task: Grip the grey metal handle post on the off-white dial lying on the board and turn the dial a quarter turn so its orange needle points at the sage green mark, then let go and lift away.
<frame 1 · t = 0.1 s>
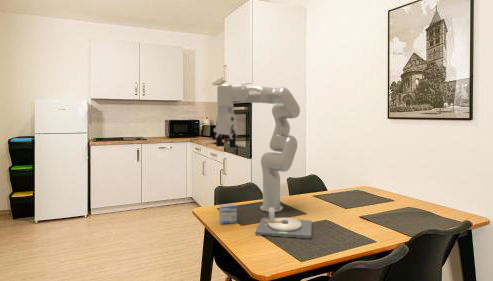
hand: (225, 146, 154), 37 cm above the table, tool pointing down, fingers open, 9 cm apart
dial: (282, 216, 148), point 6 cm above the table, hinge at 0.0°
dial board: (284, 229, 148), on the table
medicine box: (227, 223, 158), on the table
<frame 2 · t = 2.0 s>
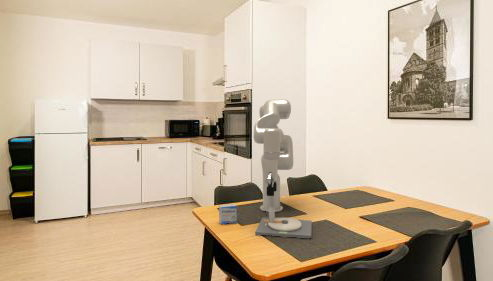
hand: (271, 193, 147), 17 cm above the table, tool pointing down, fingers open, 9 cm apart
nothing on the table moved.
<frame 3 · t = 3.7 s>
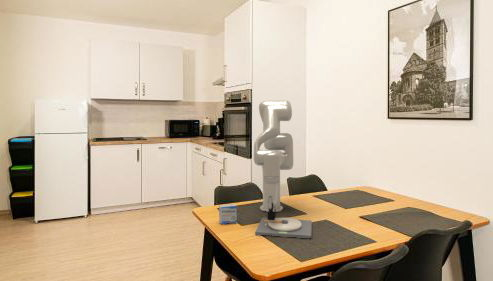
hand: (271, 218, 149), 5 cm above the table, tool pointing down, fingers closed on dial, 2 cm apart
dial: (282, 216, 148), point 6 cm above the table, hinge at 0.0°, touching gripper
everything else where it was.
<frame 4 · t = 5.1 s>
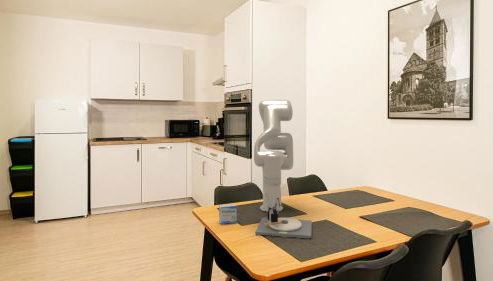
hand: (272, 220, 146), 5 cm above the table, tool pointing down, fingers closed on dial, 2 cm apart
dial: (282, 217, 147), point 6 cm above the table, hinge at 27.1°, touching gripper
everything else where it was.
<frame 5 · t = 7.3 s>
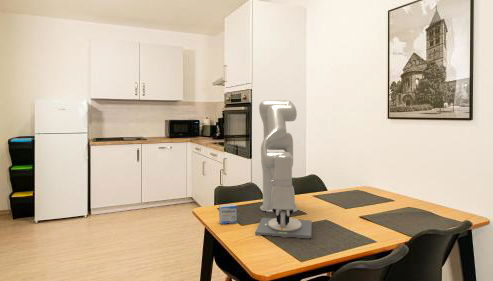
hand: (282, 223, 142), 5 cm above the table, tool pointing down, fingers closed on dial, 2 cm apart
dial: (284, 217, 147), point 6 cm above the table, hinge at 87.0°, touching gripper
everything else where it was.
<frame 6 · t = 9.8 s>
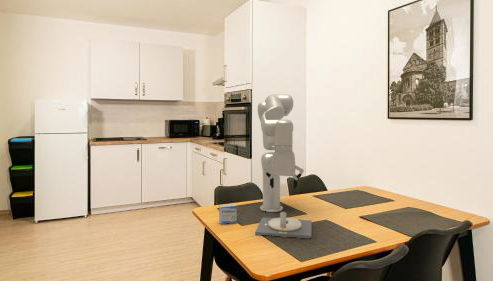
hand: (283, 188, 141), 20 cm above the table, tool pointing down, fingers open, 9 cm apart
dial: (284, 217, 147), point 6 cm above the table, hinge at 88.1°
everything else where it was.
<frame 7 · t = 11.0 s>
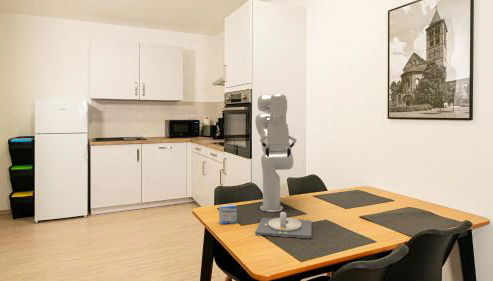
hand: (278, 156, 154), 32 cm above the table, tool pointing down, fingers open, 9 cm apart
nothing on the table moved.
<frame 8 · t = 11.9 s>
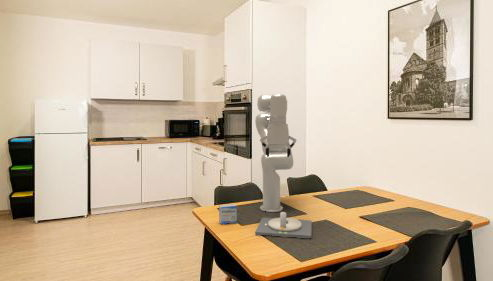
hand: (278, 156, 154), 32 cm above the table, tool pointing down, fingers open, 9 cm apart
nothing on the table moved.
at the end: dial at +88° (first picture: +0°); the gripper is holding nothing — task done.
